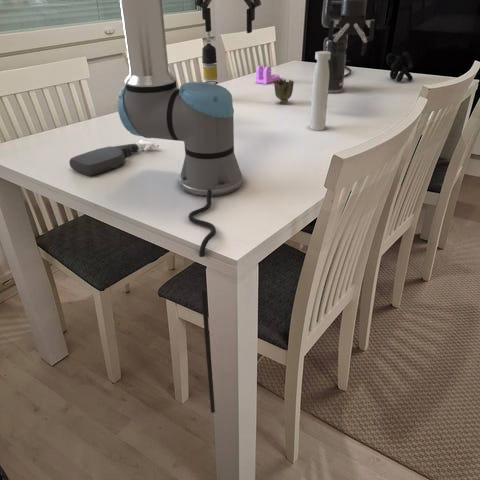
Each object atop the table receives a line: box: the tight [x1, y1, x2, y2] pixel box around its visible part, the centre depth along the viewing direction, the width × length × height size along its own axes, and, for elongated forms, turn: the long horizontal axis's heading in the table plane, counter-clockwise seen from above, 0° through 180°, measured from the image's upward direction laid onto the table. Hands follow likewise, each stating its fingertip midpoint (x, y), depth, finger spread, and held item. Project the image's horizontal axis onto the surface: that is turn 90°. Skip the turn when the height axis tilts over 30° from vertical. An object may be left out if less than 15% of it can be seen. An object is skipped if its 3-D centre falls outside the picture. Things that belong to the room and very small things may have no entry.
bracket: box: [255, 65, 281, 85], centre depth 202 cm, size 13×6×7 cm, turn 143°
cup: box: [273, 78, 295, 105], centre depth 169 cm, size 8×7×8 cm
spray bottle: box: [68, 139, 160, 177], centre depth 124 cm, size 3×11×24 cm
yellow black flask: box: [201, 31, 219, 85], centre depth 171 cm, size 6×6×30 cm
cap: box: [314, 50, 331, 61], centre depth 134 cm, size 4×4×2 cm
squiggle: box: [385, 51, 414, 83], centre depth 198 cm, size 11×10×15 cm
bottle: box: [309, 60, 330, 131], centre depth 140 cm, size 5×5×23 cm
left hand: (228, 32), depth 139 cm, fingers open, 13 cm apart
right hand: (348, 54), depth 147 cm, fingers open, 8 cm apart
